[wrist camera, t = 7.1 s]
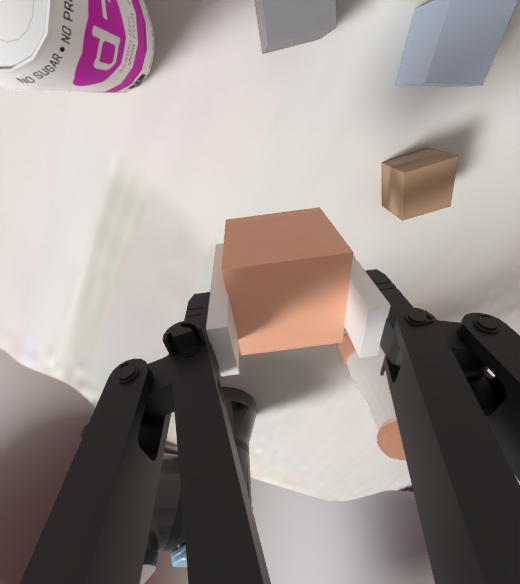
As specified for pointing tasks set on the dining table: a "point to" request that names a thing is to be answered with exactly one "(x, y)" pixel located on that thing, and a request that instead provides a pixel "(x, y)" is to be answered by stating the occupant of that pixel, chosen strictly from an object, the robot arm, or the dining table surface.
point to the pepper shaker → (375, 396)
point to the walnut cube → (418, 183)
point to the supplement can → (75, 45)
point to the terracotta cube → (286, 280)
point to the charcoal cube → (293, 22)
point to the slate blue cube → (453, 42)
